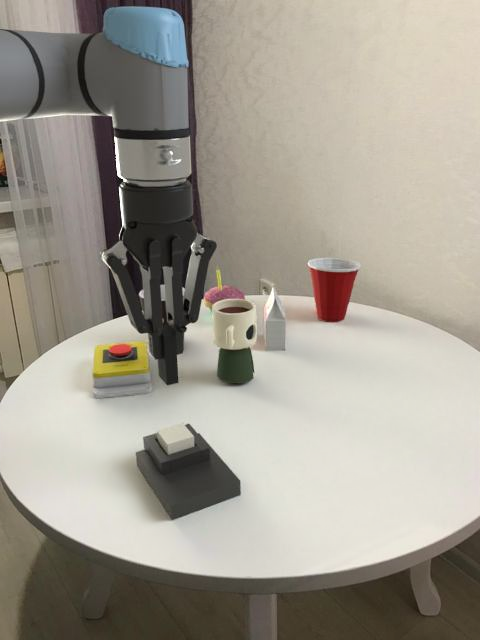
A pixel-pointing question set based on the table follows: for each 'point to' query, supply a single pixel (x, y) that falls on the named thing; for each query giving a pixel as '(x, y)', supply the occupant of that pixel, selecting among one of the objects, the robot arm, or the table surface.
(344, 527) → the table surface
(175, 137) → the robot arm
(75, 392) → the table surface
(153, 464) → the button base
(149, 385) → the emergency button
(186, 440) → the small white rectangular block
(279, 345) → the small milk carton
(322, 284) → the plastic cup
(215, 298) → the cupcake
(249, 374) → the character mug
